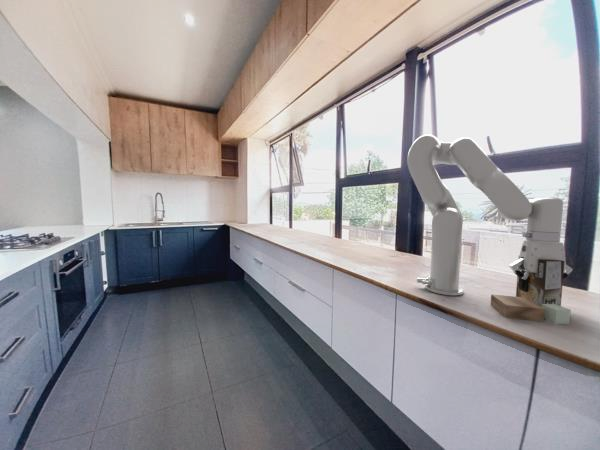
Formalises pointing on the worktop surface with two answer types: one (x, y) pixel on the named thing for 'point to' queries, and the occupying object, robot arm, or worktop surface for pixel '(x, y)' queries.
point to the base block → (517, 307)
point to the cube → (556, 313)
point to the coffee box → (544, 283)
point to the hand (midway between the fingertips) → (538, 291)
